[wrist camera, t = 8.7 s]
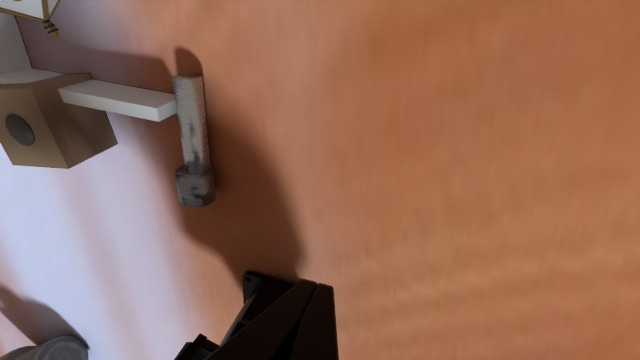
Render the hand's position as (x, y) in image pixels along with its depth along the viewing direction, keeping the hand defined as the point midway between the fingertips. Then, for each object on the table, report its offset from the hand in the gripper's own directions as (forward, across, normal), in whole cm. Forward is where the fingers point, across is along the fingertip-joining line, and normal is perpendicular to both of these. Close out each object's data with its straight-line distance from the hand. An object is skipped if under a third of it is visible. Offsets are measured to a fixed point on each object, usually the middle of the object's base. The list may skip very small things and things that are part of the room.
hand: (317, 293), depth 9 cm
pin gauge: (+12, +11, +2) cm, 16 cm away
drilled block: (+12, +21, +2) cm, 24 cm away
